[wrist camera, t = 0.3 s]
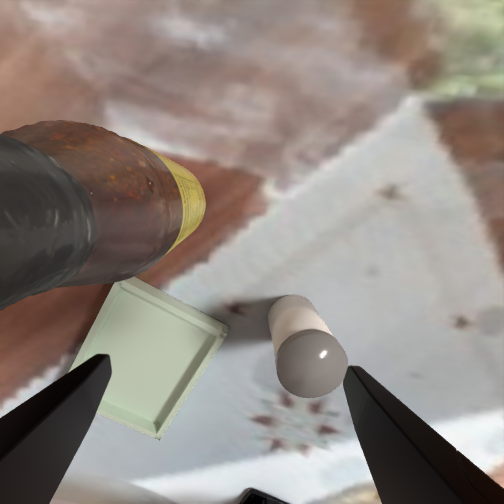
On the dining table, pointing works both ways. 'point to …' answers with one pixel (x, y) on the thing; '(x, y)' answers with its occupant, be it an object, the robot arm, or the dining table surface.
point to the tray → (149, 354)
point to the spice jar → (305, 348)
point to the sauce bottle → (86, 207)
